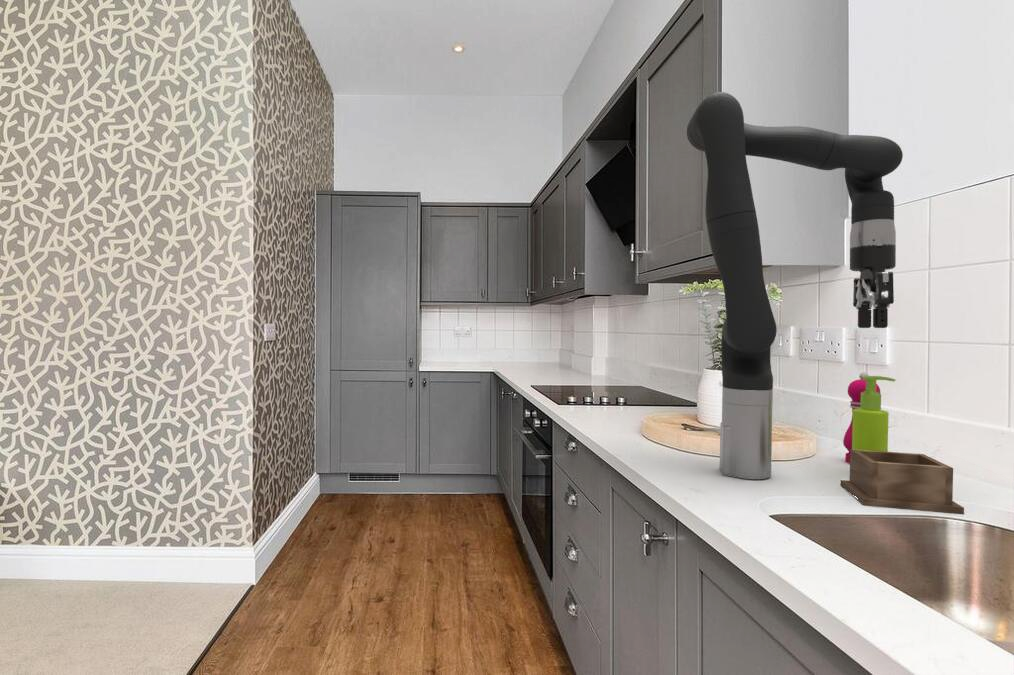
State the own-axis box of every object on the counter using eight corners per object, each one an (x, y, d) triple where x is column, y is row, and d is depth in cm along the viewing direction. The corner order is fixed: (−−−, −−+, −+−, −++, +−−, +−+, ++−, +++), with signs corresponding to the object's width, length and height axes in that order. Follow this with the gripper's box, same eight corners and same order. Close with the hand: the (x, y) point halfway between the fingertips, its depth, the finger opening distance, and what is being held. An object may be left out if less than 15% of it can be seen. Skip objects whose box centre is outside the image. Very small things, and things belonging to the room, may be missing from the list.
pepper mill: (851, 466, 116) (853, 373, 116) (837, 458, 123) (839, 370, 123) (889, 468, 115) (891, 373, 115) (872, 460, 122) (874, 371, 122)
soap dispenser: (898, 482, 105) (901, 378, 104) (858, 479, 106) (861, 376, 106) (884, 474, 110) (886, 375, 110) (846, 471, 112) (848, 374, 112)
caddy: (863, 505, 90) (864, 462, 90) (840, 485, 102) (841, 448, 102) (963, 514, 86) (965, 469, 86) (928, 492, 98) (929, 453, 98)
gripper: (839, 251, 115) (839, 328, 115) (863, 240, 102) (862, 328, 102) (880, 250, 113) (880, 328, 113) (910, 238, 99) (909, 327, 100)
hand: (872, 328), depth 108 cm, fingers open, 8 cm apart
